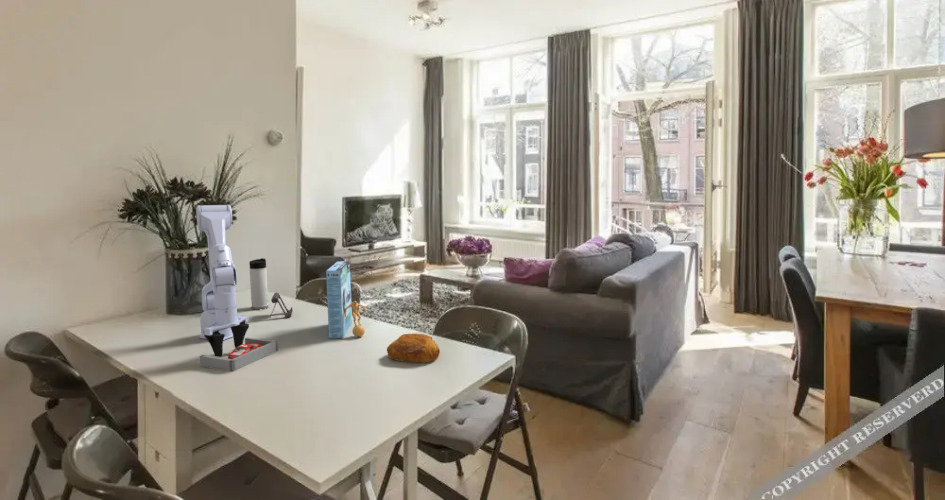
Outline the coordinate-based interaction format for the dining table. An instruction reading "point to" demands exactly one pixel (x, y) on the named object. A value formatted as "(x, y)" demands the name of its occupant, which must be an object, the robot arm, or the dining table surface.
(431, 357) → the croissant
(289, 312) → the portable electronic device stand
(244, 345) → the race car
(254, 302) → the travel mug
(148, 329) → the dining table surface
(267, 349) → the grey u-shaped wall
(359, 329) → the figurine
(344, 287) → the blue product box
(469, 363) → the dining table surface
